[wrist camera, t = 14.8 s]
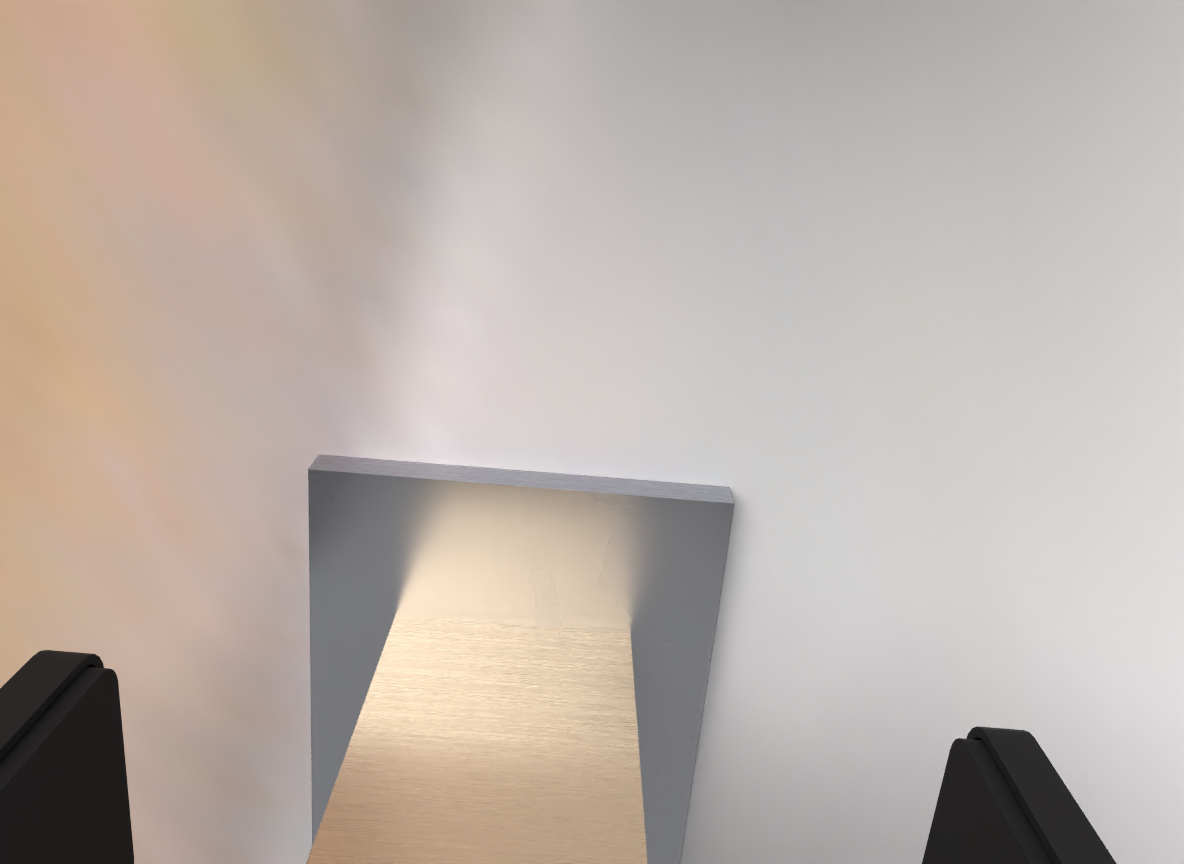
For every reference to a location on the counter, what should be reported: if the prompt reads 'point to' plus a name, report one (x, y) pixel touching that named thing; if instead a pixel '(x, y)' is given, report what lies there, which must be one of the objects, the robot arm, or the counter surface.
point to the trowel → (507, 662)
